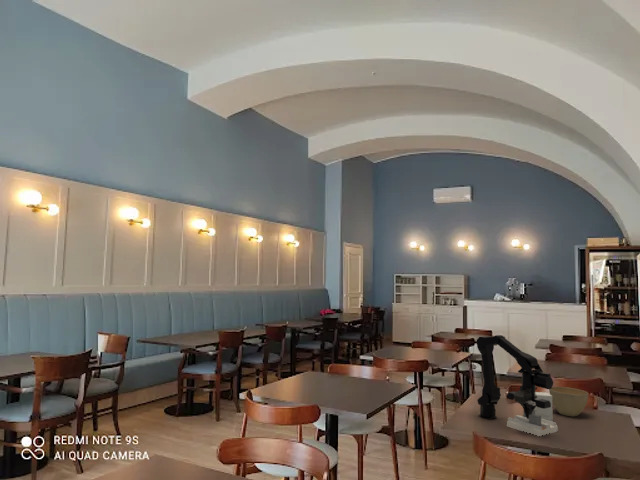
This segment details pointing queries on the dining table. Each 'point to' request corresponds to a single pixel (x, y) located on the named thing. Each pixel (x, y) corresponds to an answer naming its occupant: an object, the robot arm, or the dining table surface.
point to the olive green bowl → (568, 400)
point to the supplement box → (546, 412)
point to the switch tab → (535, 419)
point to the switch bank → (532, 425)
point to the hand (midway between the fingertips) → (528, 418)
